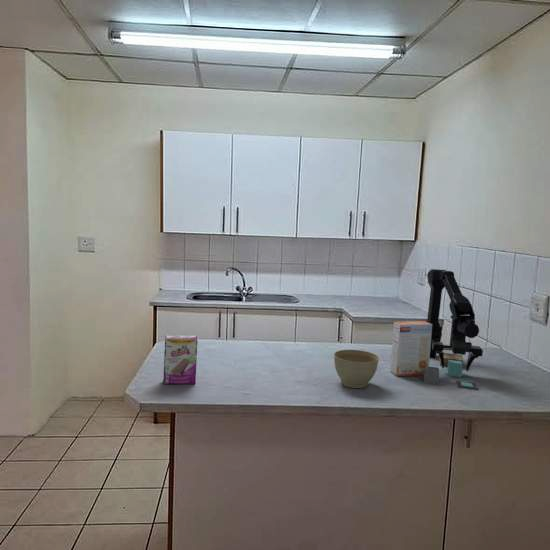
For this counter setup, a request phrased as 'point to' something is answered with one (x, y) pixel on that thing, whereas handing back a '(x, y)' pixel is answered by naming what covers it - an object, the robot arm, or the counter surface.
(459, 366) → the teal cube
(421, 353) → the cracker box
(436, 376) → the charcoal cube
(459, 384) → the tile
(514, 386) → the counter surface
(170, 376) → the candy bar box
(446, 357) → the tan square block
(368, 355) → the planter bowl
